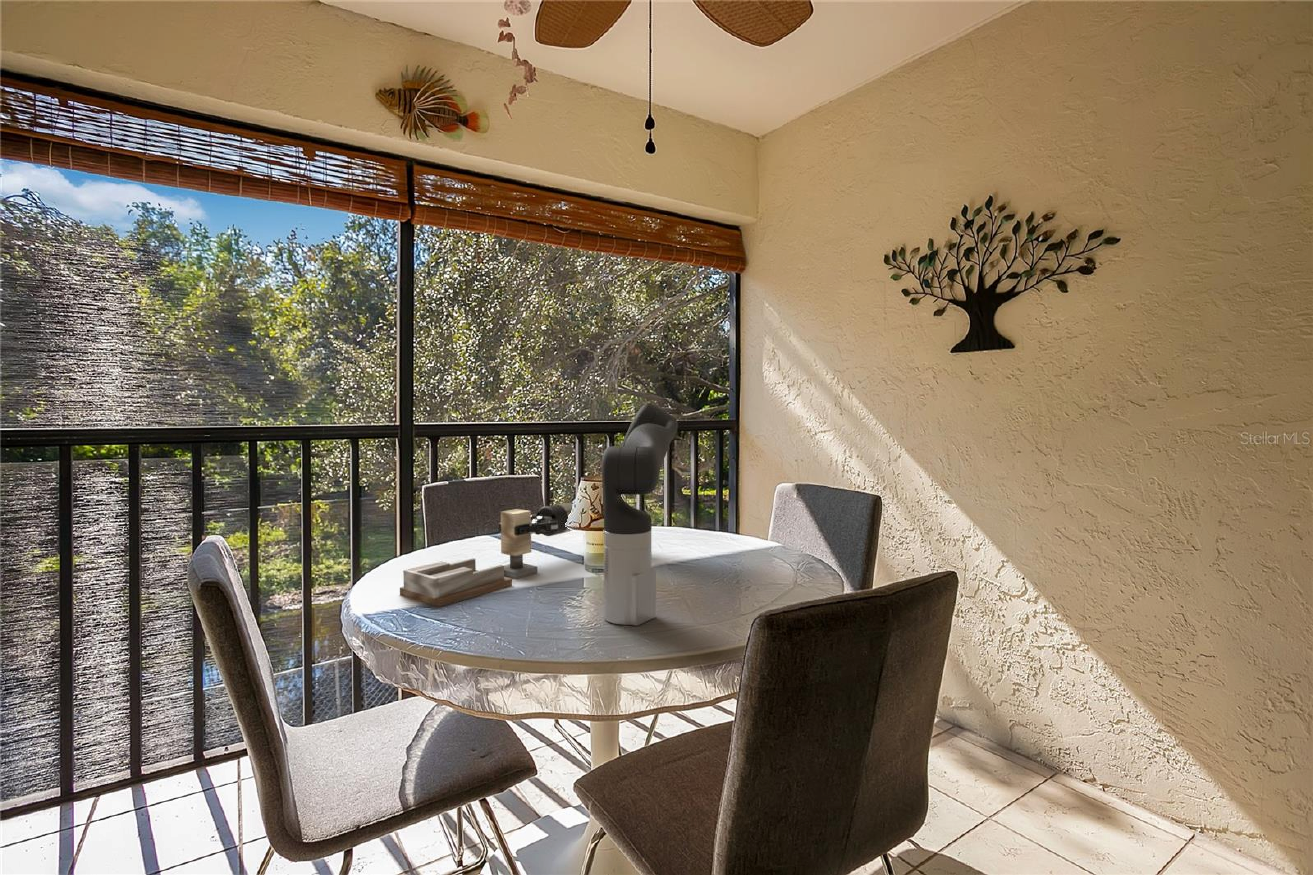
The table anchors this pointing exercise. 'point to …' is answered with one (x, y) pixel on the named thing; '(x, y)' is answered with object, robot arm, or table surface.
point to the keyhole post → (516, 543)
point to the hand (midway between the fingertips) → (507, 529)
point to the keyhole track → (451, 582)
